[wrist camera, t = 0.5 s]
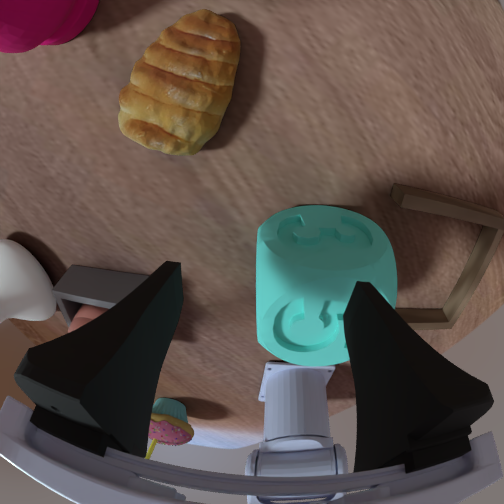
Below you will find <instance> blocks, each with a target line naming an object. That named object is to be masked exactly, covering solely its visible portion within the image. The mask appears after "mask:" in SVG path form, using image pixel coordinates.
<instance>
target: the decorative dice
mask: <svg viewBox="0 0 504 504" xmlns="http://www.w3.org/2000/svg"><path fill="white" fill-rule="evenodd" d="M357 281H363V282H370V283H371V284H372V285H373V286H374V287H375V288H376V289H377V290H378V291H379V292H380V294H381V295H382V296H383V297H384V298H385V299H386V300H387V301H388V303H389V304H390V305H391V306H392V307H393V308H394V309H395V305H396V298H397V269H396V262H395V257H394V253H393V249H392V246H391V243H390V241H389V239H388V237H387V235H386V234H385V233H384V231H383V230H382V229H381V228H380V227H379V226H378V225H377V224H376V223H375V222H373V221H372V220H370V219H369V218H367V217H365V216H363V215H361V214H359V213H356V212H353V211H350V210H347V209H343V208H338V207H333V206H323V205H308V206H299V207H293V208H289V209H286V210H283V211H280V212H278V213H276V214H274V215H273V216H271V217H270V218H269V219H267V220H266V221H265V222H264V223H263V224H262V225H261V226H260V227H259V228H258V235H257V257H256V318H257V337H258V342H259V343H260V344H261V345H262V346H263V347H264V348H265V349H267V350H268V351H269V352H271V353H272V354H274V355H275V356H277V357H278V358H280V359H282V360H284V361H287V362H289V363H293V364H296V365H302V366H314V367H316V366H329V365H334V364H339V363H342V362H345V361H348V360H350V359H349V354H348V350H347V345H346V340H345V334H344V324H343V314H344V312H345V309H346V307H347V305H348V302H349V300H350V297H351V295H352V292H353V289H354V287H355V284H356V282H357Z"/></svg>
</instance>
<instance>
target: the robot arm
mask: <svg viewBox="0 0 504 504" xmlns="http://www.w3.org/2000/svg"><path fill="white" fill-rule="evenodd" d="M182 305H183V288H182V275H181V263H179V262H171V261H166V262H165V263H163V264H162V265H161V266H160V267H159V268H158V269H157V270H156V271H154V272H153V273H152V274H151V275H150V276H149V277H148V278H147V279H146V280H145V281H143V282H142V283H141V284H140V285H139V286H138V287H137V288H135V289H134V290H133V291H132V292H131V293H130V294H128V295H127V296H126V297H125V298H123V299H122V300H121V301H120V302H118V303H117V304H116V305H114V306H113V307H112V308H110V309H109V310H107V311H106V312H104V313H103V314H101V315H100V316H98V317H97V318H95V319H93V320H92V321H90V322H88V323H86V324H85V325H83V326H81V327H79V328H78V329H76V330H74V331H72V332H70V333H67V334H65V335H63V336H61V337H59V338H56V339H54V340H52V341H49V342H46V343H43V344H41V345H38V346H35V347H32V348H29V349H28V351H27V353H26V354H25V356H24V358H23V359H22V361H21V363H20V365H19V366H18V368H17V370H16V372H15V374H14V378H15V381H16V383H17V384H18V386H19V387H20V388H21V389H22V390H23V391H24V393H25V394H26V395H27V396H28V397H29V398H30V399H31V400H32V401H33V402H34V403H35V404H36V407H35V409H34V411H33V410H32V409H30V408H29V407H27V406H26V405H24V404H23V403H21V402H19V401H17V400H16V399H14V398H12V397H11V396H7V398H6V400H5V402H4V404H3V406H2V408H1V411H0V455H1V456H2V457H3V458H5V459H6V460H7V461H9V462H10V463H11V464H13V465H14V466H16V467H17V468H18V469H20V470H21V471H23V472H24V473H26V474H27V475H29V476H30V477H32V478H33V479H35V480H36V481H38V482H39V483H41V484H43V485H44V486H46V487H47V488H49V489H51V490H52V491H54V492H56V493H58V494H59V495H61V496H63V497H65V498H67V499H69V500H70V501H73V502H75V503H76V504H203V503H197V502H190V501H185V499H186V497H185V496H184V495H183V494H180V493H177V491H176V489H175V488H171V487H168V486H165V485H161V484H158V483H154V482H151V481H149V480H145V479H142V478H140V477H143V478H146V479H150V480H154V481H158V482H162V483H166V484H171V485H175V486H181V487H186V488H191V489H197V490H204V491H210V492H218V493H227V494H237V495H247V504H458V503H460V502H461V501H463V500H465V499H467V498H469V497H471V496H472V495H474V494H476V493H478V492H479V491H481V490H483V489H485V488H486V487H488V486H490V485H491V484H493V483H495V482H496V481H498V480H500V479H501V478H502V477H503V474H502V469H501V464H500V460H499V455H498V451H497V448H496V444H495V440H494V437H493V433H492V431H490V432H488V433H485V434H482V435H480V436H478V437H475V438H473V439H472V440H470V441H469V438H468V435H469V434H471V432H472V431H471V427H470V425H472V424H473V423H474V422H475V421H477V420H478V419H479V418H480V417H481V416H483V415H484V414H485V413H486V412H487V411H488V410H489V409H490V408H491V407H492V405H493V403H494V400H493V397H492V394H491V392H490V389H489V386H488V384H486V383H484V382H482V381H481V380H479V379H477V378H475V377H473V376H471V375H470V374H468V373H466V372H465V371H463V370H461V369H460V368H458V367H457V366H455V365H454V364H453V363H451V362H450V361H448V360H447V359H446V358H444V357H443V356H442V355H441V354H439V353H438V352H437V351H436V350H434V349H433V348H432V347H431V346H430V345H429V344H428V343H427V342H425V341H424V340H423V339H422V338H421V337H420V336H419V335H418V334H417V333H416V332H415V331H414V330H413V329H412V328H411V327H410V326H409V325H408V324H407V323H406V322H405V321H404V320H403V318H402V317H401V316H400V315H399V314H398V313H397V312H396V311H395V309H394V308H393V307H392V306H391V305H390V304H389V303H388V301H387V300H386V299H385V298H384V297H383V296H382V295H381V294H380V292H379V291H378V290H377V289H376V288H375V287H374V286H373V285H372V284H371V283H370V282H363V281H357V282H356V284H355V287H354V289H353V292H352V295H351V297H350V300H349V302H348V305H347V307H346V309H345V312H344V314H343V324H344V334H345V340H346V345H347V350H348V354H349V359H350V363H351V368H352V373H353V378H354V383H355V391H356V406H357V440H356V455H355V465H354V472H353V473H348V463H347V456H346V451H345V449H344V448H343V447H342V446H341V445H340V444H334V445H333V437H330V426H329V415H328V404H327V394H326V385H327V383H328V381H329V379H330V377H331V376H332V374H333V372H334V370H335V365H329V366H316V367H314V366H302V365H296V364H293V363H284V362H267V363H266V366H265V371H264V375H263V380H262V384H261V389H260V394H259V401H265V415H264V438H263V442H260V447H259V449H257V450H254V451H253V452H252V453H251V454H250V455H249V456H248V458H247V462H246V468H245V475H235V474H225V473H217V472H209V471H202V470H196V469H191V468H185V467H180V466H175V465H170V464H165V463H161V462H157V461H153V460H149V459H145V457H146V453H147V443H148V434H149V427H150V420H151V414H152V408H153V403H154V398H155V393H156V388H157V384H158V379H159V375H160V371H161V368H162V365H163V362H164V359H165V356H166V353H167V351H168V348H169V345H170V343H171V340H172V337H173V335H174V332H175V329H176V327H177V324H178V321H179V317H180V313H181V309H182ZM364 489H369V490H365V491H360V492H356V493H351V494H346V492H350V491H357V490H364ZM325 497H327V498H325ZM315 498H325V499H323V500H319V501H310V502H294V503H274V502H270V501H281V500H282V501H283V500H303V499H315Z"/></svg>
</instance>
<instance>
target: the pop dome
mask: <svg viewBox="0 0 504 504" xmlns="http://www.w3.org/2000/svg"><path fill="white" fill-rule="evenodd" d="M107 310H109V309H108V308H103V307H98V306H93V305H88V304H84V303H83V304H82V306H81V307H80V309H79V310H78V312H77V314H76V315H75V317H74V318H73V320H72V322H71V324H70V326H69V329H68V333H70V332H72V331H74V330H76V329H78V328H79V327H81V326H83V325H85V324H86V323H88V322H90V321H92V320H93V319H95V318H97V317H98V316H100V315H101V314H103V313H104V312H106V311H107Z"/></svg>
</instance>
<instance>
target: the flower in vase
mask: <svg viewBox="0 0 504 504" xmlns="http://www.w3.org/2000/svg"><path fill="white" fill-rule="evenodd" d="M53 288H54V287H53V285H52V282H51V280H50V278H49V277H48V275H47V273H46V272H45V270H44V269H43V267H42V266H41V264H40V263H39V262H38V261H37V260H36V258H35V257H34V256H33V255H32V254H31V253H30V252H29V251H28V250H27V249H25V248H24V247H23V246H22V245H20V244H18V243H17V242H14V241H12V240H8V239H0V323H1V322H3V321H4V320H5V319H7V318H18V319H24V320H31V321H42V320H46V319H48V318H49V317H51V316H52V315H54V313H55V311H56V299H55V297H54V294H53V292H52V289H53Z"/></svg>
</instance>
